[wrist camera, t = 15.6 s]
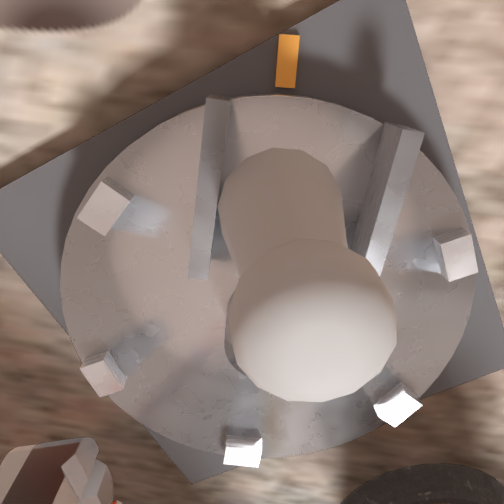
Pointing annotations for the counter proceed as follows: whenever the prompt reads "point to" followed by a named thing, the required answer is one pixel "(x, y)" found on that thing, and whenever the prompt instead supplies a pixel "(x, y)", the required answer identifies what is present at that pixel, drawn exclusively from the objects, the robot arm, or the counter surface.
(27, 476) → the robot arm
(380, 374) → the studded metal disc
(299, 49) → the gray square base
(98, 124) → the counter surface
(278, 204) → the salt shaker
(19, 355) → the counter surface
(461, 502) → the tankard
